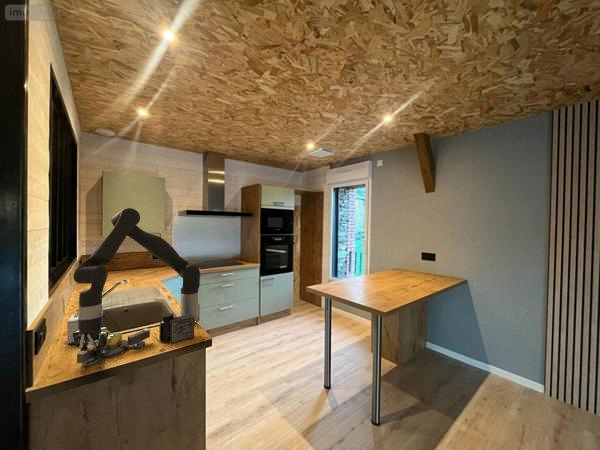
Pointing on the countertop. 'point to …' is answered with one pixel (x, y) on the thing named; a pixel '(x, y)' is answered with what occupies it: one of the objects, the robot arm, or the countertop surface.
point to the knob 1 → (86, 355)
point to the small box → (181, 328)
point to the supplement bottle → (165, 328)
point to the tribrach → (113, 348)
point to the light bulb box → (72, 327)
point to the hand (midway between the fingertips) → (90, 357)
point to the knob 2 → (139, 337)
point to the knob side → (105, 330)
